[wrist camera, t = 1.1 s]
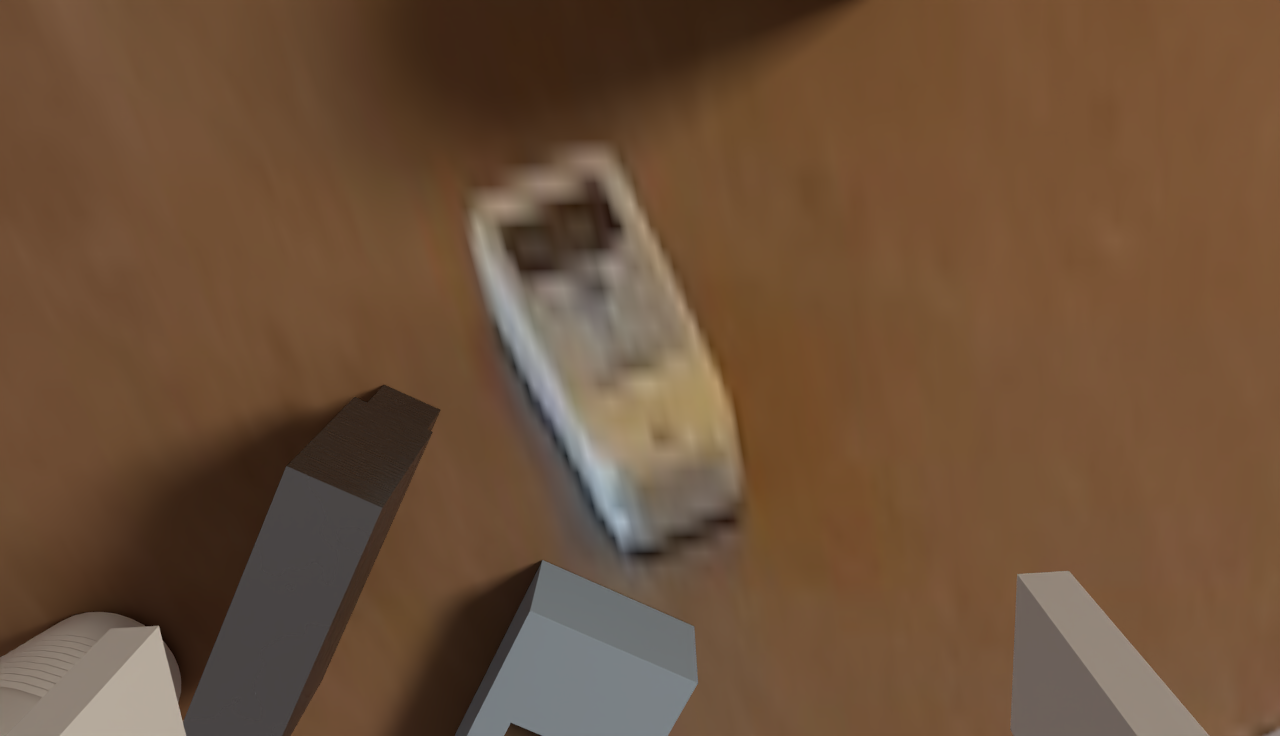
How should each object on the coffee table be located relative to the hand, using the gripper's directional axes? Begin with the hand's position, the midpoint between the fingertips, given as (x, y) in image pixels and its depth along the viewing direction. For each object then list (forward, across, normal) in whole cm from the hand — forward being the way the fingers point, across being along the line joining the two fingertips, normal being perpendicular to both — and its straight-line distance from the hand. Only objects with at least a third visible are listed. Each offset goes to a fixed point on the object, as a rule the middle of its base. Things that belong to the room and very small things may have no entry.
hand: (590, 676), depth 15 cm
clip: (+23, -11, -7) cm, 27 cm away
